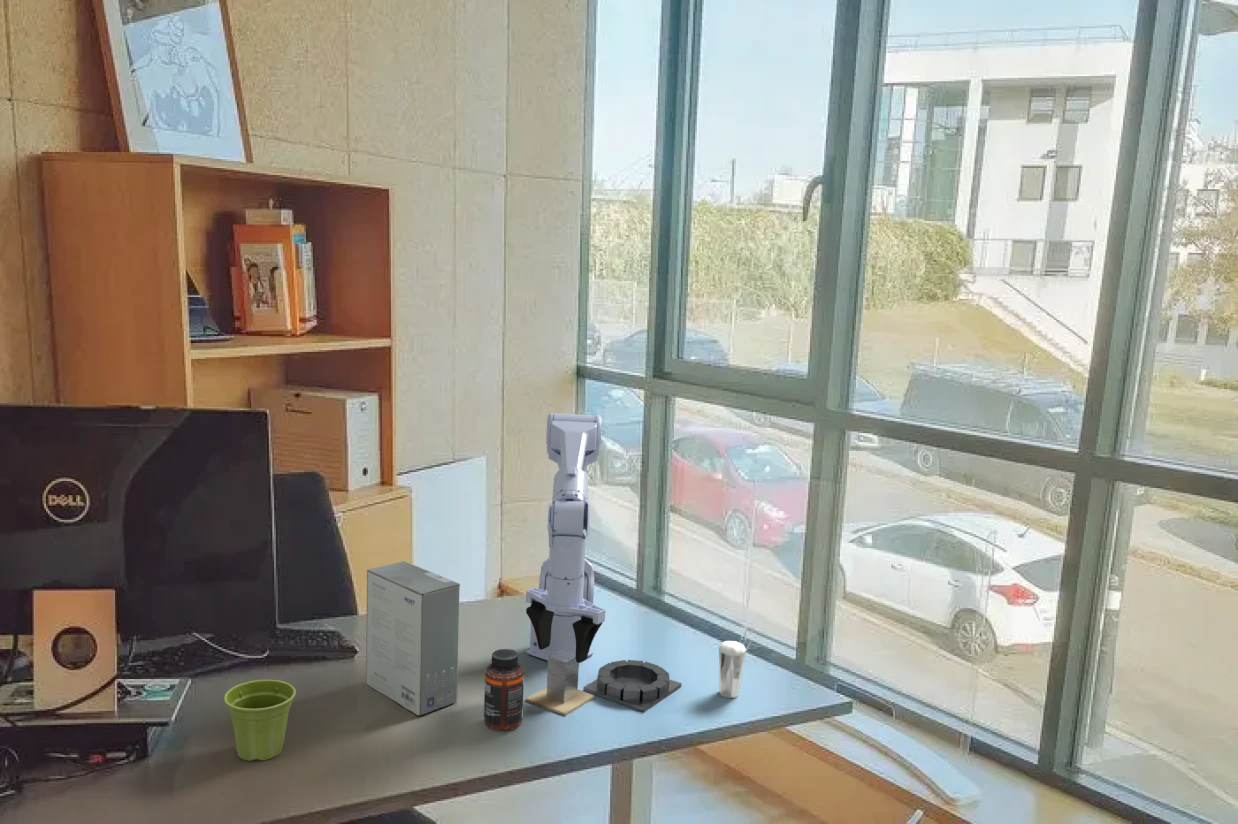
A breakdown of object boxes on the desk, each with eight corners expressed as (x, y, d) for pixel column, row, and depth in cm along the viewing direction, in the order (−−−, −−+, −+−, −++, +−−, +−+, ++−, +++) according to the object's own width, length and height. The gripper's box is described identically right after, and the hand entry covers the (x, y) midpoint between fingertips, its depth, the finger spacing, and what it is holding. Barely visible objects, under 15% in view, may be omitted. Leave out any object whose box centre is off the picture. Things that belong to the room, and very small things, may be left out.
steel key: (546, 696, 156) (548, 656, 154) (559, 689, 159) (561, 649, 157) (564, 703, 154) (565, 662, 153) (577, 695, 157) (579, 655, 155)
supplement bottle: (528, 718, 149) (531, 650, 147) (512, 735, 143) (514, 664, 142) (494, 710, 151) (496, 643, 149) (476, 727, 145) (478, 657, 143)
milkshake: (746, 702, 158) (750, 645, 157) (714, 698, 159) (718, 641, 158) (748, 690, 163) (752, 635, 161) (716, 686, 164) (721, 631, 162)
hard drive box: (458, 703, 153) (462, 584, 150) (419, 718, 147) (421, 594, 144) (402, 671, 163) (404, 559, 160) (363, 684, 158) (364, 568, 154)
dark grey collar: (583, 690, 160) (584, 676, 159) (622, 667, 169) (623, 654, 169) (643, 712, 153) (644, 698, 153) (681, 686, 163) (682, 673, 162)
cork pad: (525, 700, 155) (525, 698, 155) (556, 683, 161) (556, 681, 161) (565, 715, 150) (565, 713, 150) (594, 697, 157) (594, 695, 157)
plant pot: (265, 728, 142) (264, 673, 140) (309, 747, 137) (309, 690, 136) (210, 754, 134) (209, 696, 132) (255, 775, 129) (255, 715, 128)
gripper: (515, 569, 153) (512, 649, 155) (588, 591, 145) (584, 674, 148) (542, 559, 159) (539, 636, 161) (614, 579, 151) (610, 660, 153)
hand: (562, 653), depth 155 cm, fingers open, 7 cm apart
